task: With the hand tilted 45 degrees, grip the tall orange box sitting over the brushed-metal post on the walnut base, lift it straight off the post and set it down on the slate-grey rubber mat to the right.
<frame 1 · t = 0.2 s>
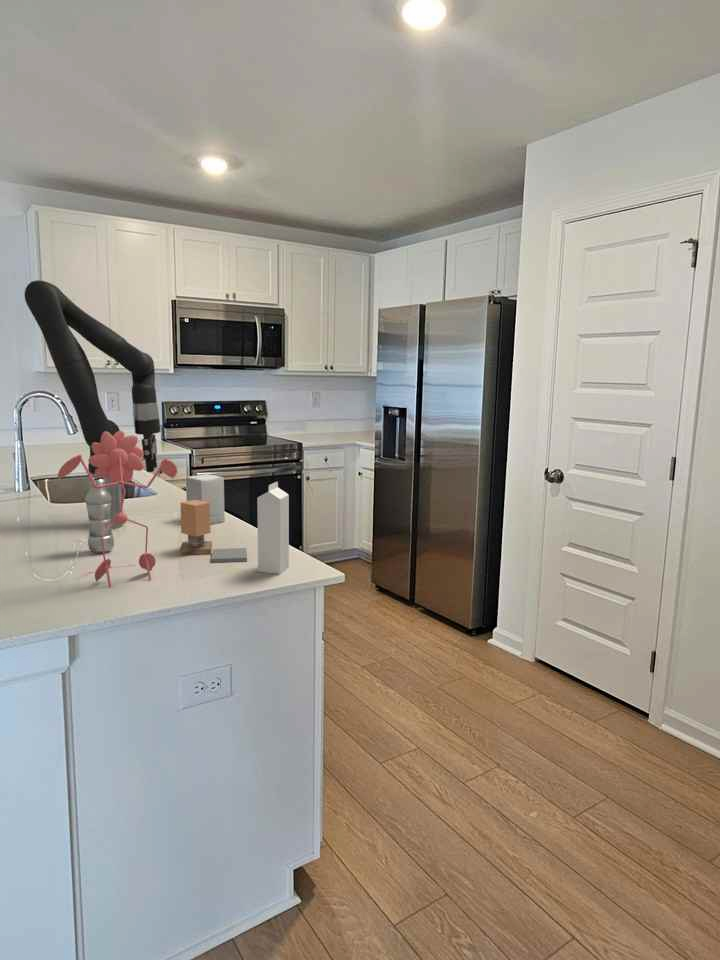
hand: (152, 469, 194), 18 cm above the counter, tool pointing down, fingers open, 8 cm apart
tall orange box: (195, 533, 170), point 5 cm above the counter, touching post stand
supplement box: (206, 522, 203), on the counter
post stand: (196, 550, 171), on the counter
figurine: (122, 576, 149), on the counter
mat: (229, 556, 165), on the counter
plastic bottle: (101, 552, 168), on the counter
milk: (273, 570, 156), on the counter
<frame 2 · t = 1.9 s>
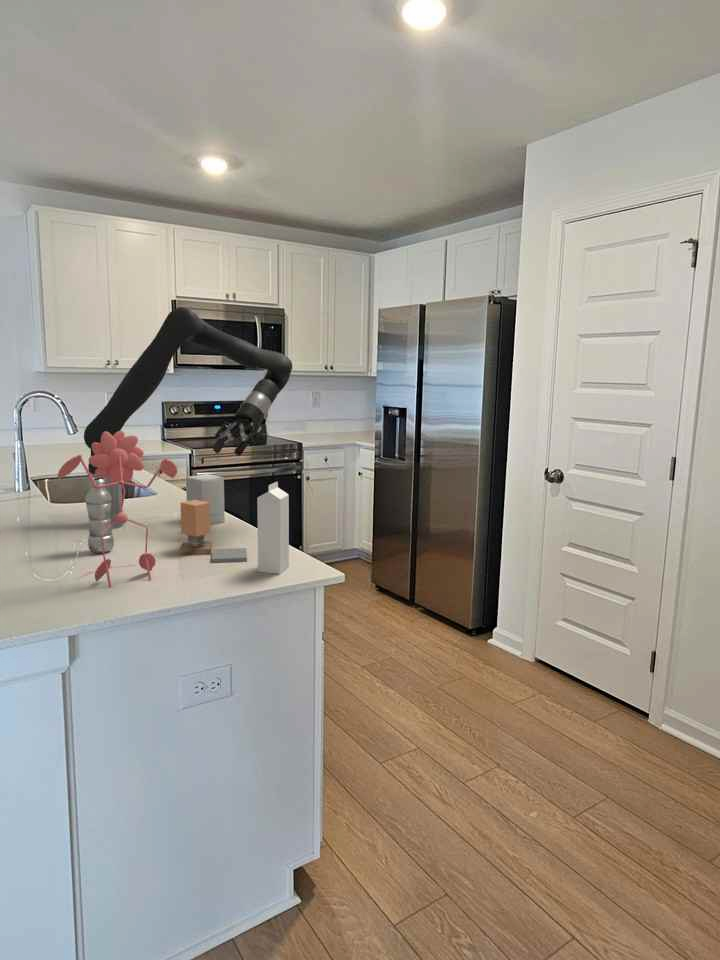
hand: (225, 452, 176), 26 cm above the counter, tool tilted 45°, fingers open, 8 cm apart
nothing on the counter moved.
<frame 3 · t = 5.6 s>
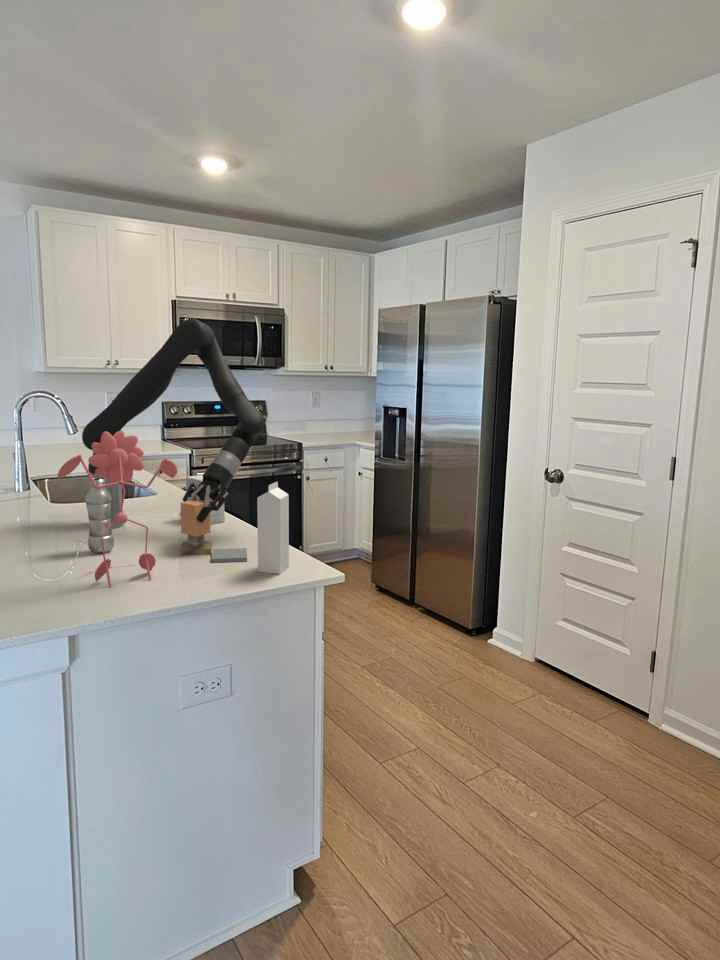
hand: (190, 518, 167), 9 cm above the counter, tool tilted 45°, fingers closed on tall orange box, 6 cm apart
tall orange box: (195, 532, 170), point 5 cm above the counter, touching gripper, post stand
everything else where it was.
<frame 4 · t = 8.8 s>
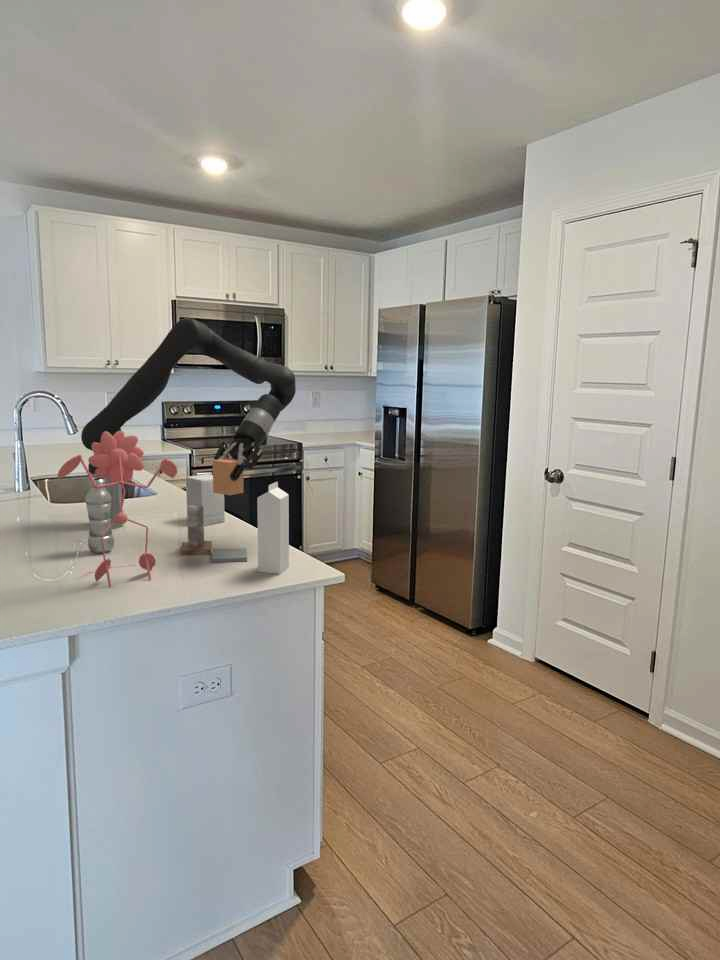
hand: (223, 477, 160), 22 cm above the counter, tool tilted 45°, fingers closed on tall orange box, 6 cm apart
tall orange box: (228, 492, 163), point 17 cm above the counter, touching gripper
everything else where it was.
when the fingers open (7 cm above the counter, at t = 12.0 s): tall orange box drops 1 cm, resting on mat.
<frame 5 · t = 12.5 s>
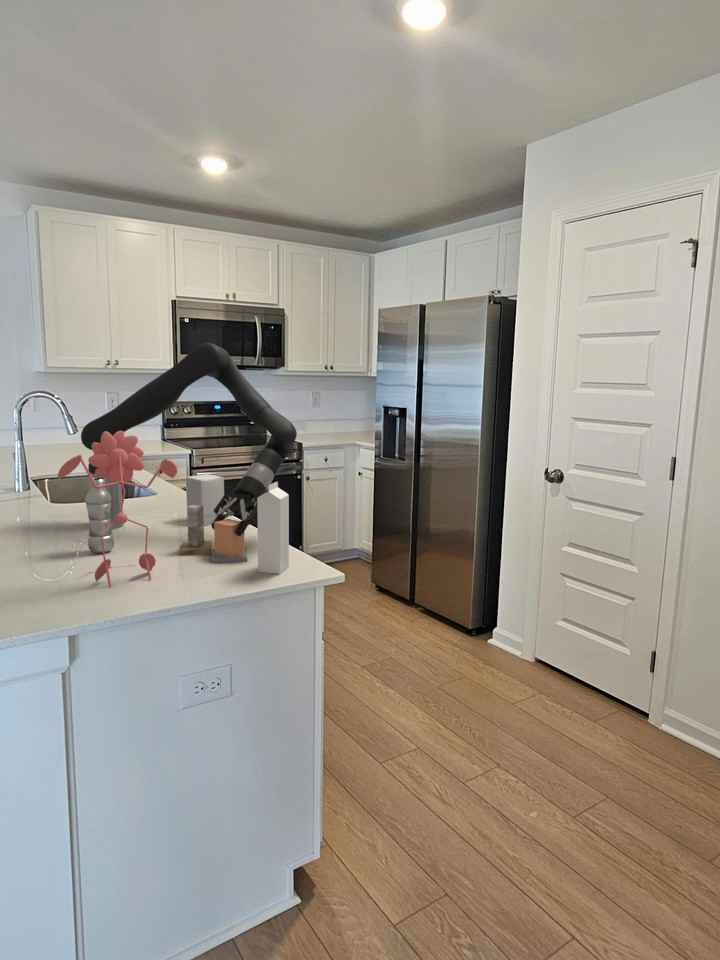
hand: (225, 531, 163), 7 cm above the counter, tool tilted 45°, fingers open, 8 cm apart
tall orange box: (229, 553, 165), point 1 cm above the counter, touching mat
everything else where it was.
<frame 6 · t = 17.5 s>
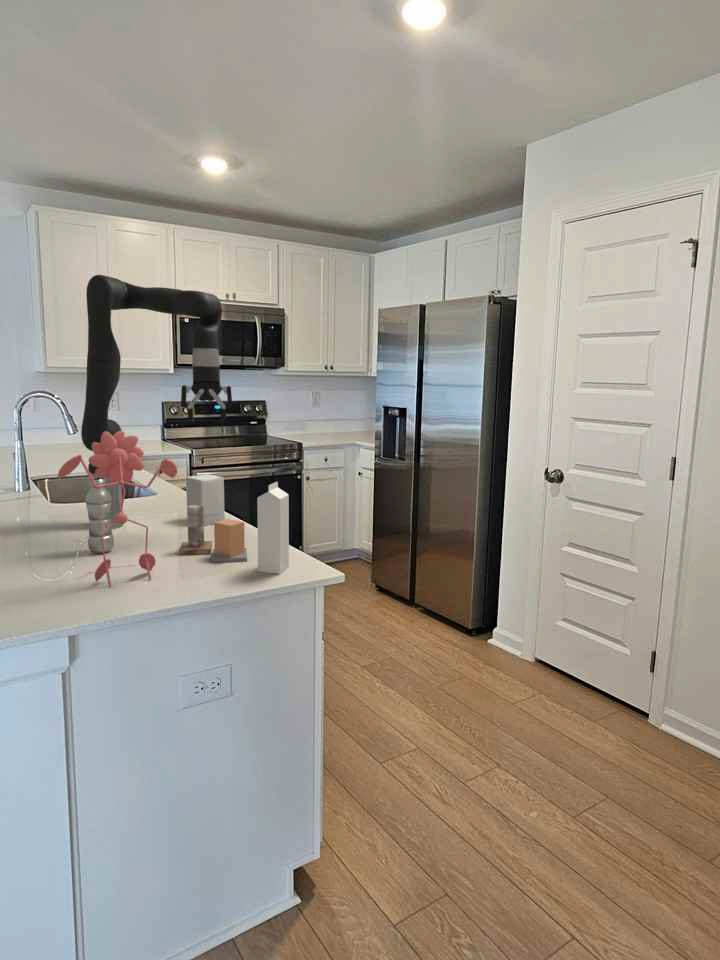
hand: (207, 422, 180), 34 cm above the counter, tool pointing down, fingers open, 8 cm apart
nothing on the counter moved.
at the end: tall orange box inside the target area on the mat (0.1 cm from its centre), point 1.0 cm above the mat's base; tall orange box tilted 0°; the gripper is holding nothing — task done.
